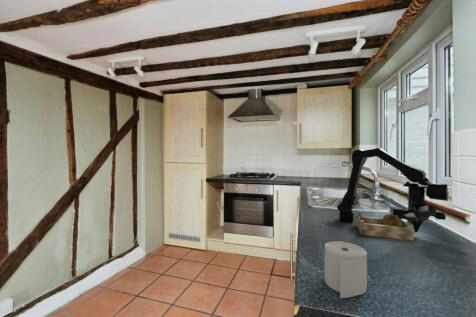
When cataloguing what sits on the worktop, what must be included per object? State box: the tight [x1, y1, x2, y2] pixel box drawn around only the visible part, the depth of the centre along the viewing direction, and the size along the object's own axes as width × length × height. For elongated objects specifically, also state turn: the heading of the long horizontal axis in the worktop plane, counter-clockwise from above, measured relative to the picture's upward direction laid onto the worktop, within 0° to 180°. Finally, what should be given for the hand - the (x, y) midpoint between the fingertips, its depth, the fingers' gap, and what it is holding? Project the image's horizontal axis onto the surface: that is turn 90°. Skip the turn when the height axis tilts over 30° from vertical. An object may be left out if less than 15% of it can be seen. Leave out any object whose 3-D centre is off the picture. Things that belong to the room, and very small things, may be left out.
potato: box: [382, 213, 403, 227], centre depth 102 cm, size 8×13×8 cm, turn 140°
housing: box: [356, 211, 415, 241], centre depth 103 cm, size 20×13×8 cm
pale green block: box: [401, 219, 414, 229], centre depth 99 cm, size 2×10×6 cm, turn 158°
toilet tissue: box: [323, 240, 368, 299], centre depth 61 cm, size 11×12×10 cm
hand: (415, 232), depth 98 cm, fingers closed
